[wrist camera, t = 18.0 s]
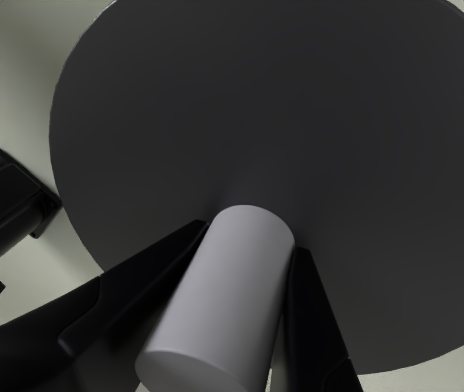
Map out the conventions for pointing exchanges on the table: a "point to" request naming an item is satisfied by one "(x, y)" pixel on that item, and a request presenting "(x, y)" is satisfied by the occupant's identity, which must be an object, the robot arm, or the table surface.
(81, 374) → the robot arm
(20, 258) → the table surface
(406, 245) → the lid
